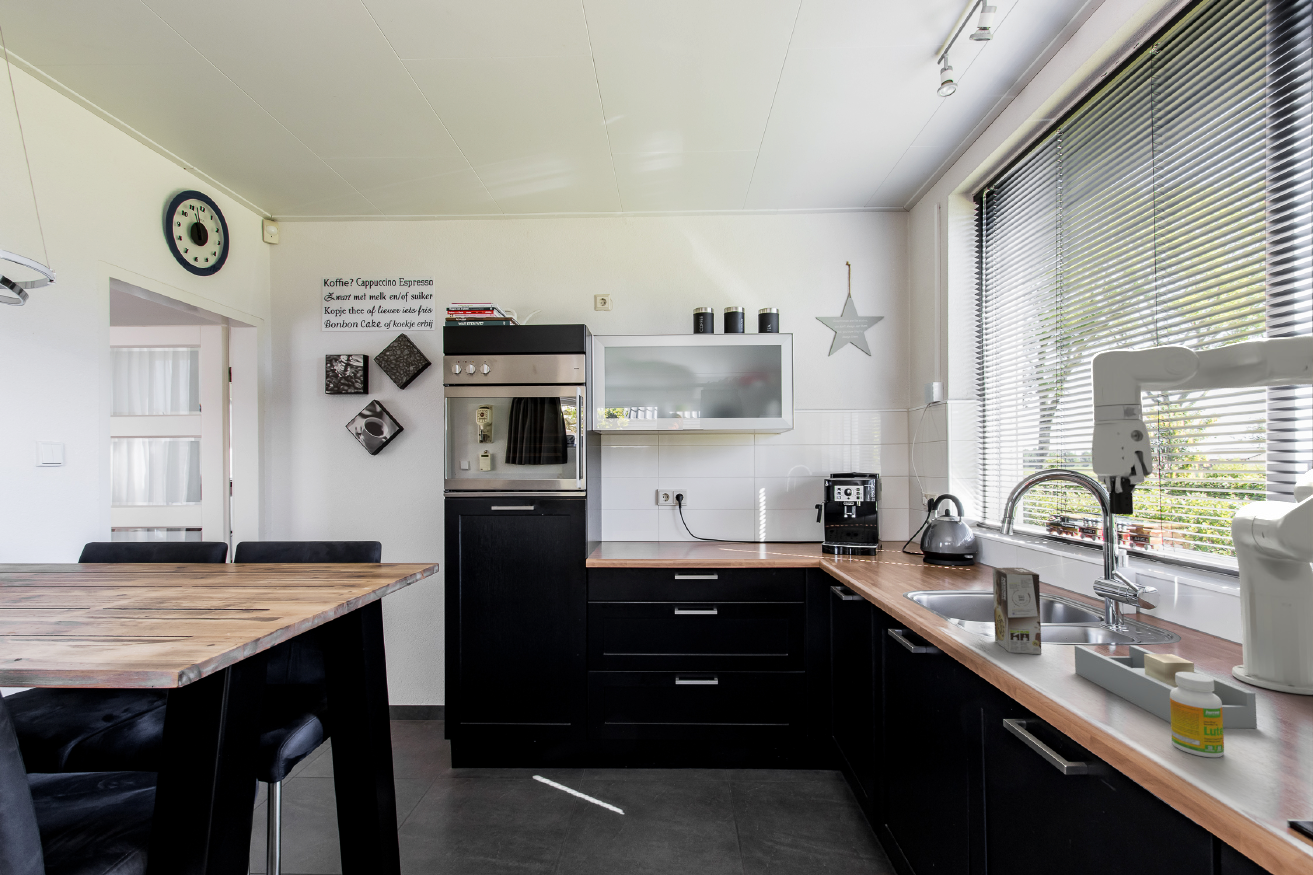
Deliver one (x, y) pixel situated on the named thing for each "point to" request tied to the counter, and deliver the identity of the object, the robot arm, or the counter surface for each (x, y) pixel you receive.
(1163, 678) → the block
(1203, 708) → the supplement bottle
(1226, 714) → the box
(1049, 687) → the counter surface
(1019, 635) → the coffee box
